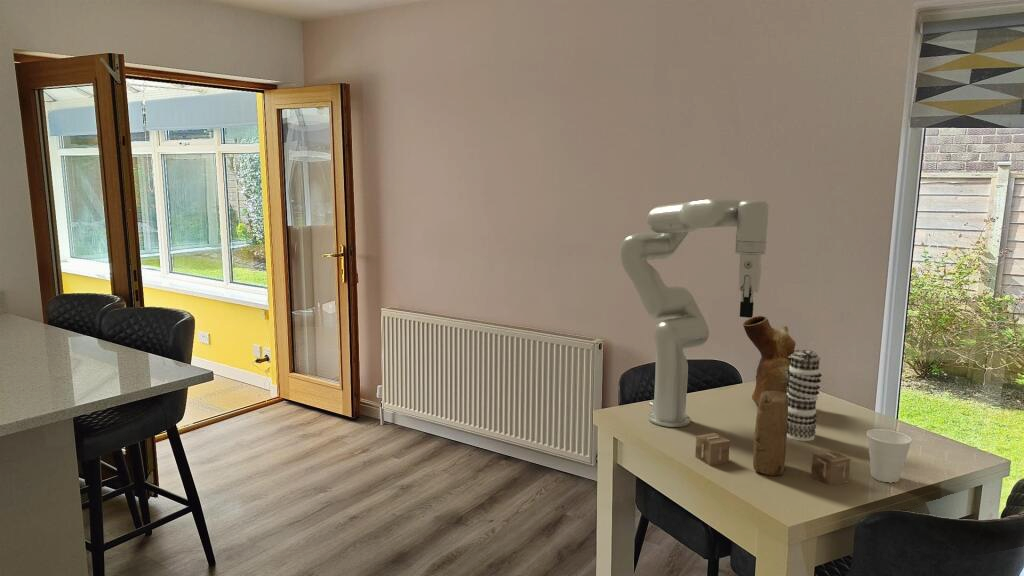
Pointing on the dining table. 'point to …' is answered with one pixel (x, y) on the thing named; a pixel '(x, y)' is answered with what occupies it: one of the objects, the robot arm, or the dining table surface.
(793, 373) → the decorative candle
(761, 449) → the block
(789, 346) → the ceramic vessel
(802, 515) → the dining table surface
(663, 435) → the dining table surface
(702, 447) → the walnut cube
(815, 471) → the walnut cube
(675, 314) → the robot arm
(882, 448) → the cup
